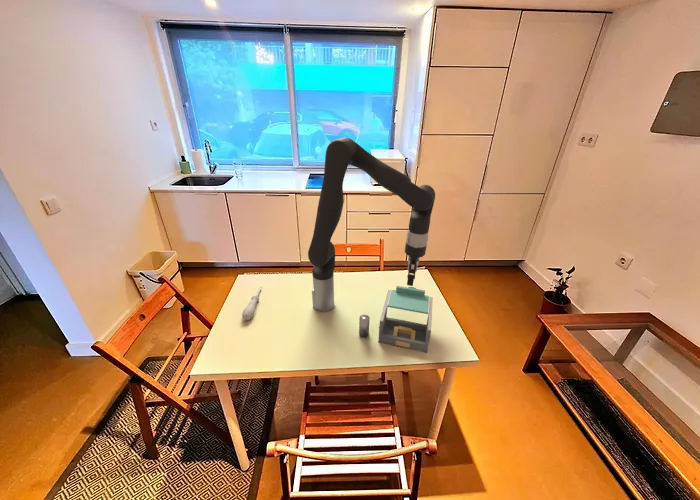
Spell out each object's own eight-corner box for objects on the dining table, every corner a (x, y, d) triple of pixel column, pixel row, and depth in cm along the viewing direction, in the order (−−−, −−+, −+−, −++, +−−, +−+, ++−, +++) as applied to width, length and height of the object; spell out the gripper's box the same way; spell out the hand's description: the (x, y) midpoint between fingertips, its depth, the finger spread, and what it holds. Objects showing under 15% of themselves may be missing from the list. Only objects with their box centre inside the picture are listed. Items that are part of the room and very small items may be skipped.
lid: (387, 306, 117) (388, 300, 116) (391, 291, 126) (392, 285, 125) (427, 314, 113) (429, 307, 112) (428, 297, 123) (430, 291, 121)
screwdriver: (265, 291, 148) (266, 284, 146) (250, 323, 125) (251, 315, 123) (256, 289, 147) (257, 282, 145) (239, 321, 125) (240, 313, 123)
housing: (378, 342, 115) (379, 320, 109) (386, 310, 132) (388, 289, 127) (427, 353, 111) (431, 330, 105) (429, 318, 128) (432, 297, 122)
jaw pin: (358, 337, 118) (358, 320, 113) (360, 330, 121) (360, 313, 117) (367, 339, 117) (368, 322, 112) (369, 332, 120) (370, 315, 116)
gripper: (407, 232, 111) (402, 267, 118) (404, 249, 99) (398, 287, 106) (427, 234, 109) (421, 270, 117) (426, 252, 97) (419, 291, 105)
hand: (410, 278), depth 112 cm, fingers open, 8 cm apart
